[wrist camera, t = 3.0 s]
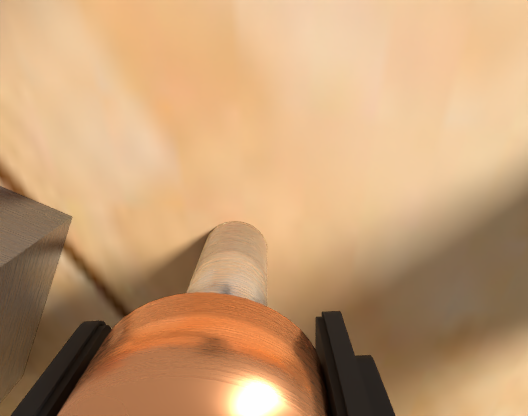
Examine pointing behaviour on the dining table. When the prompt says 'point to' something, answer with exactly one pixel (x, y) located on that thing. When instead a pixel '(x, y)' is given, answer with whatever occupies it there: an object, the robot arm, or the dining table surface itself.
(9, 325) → the hitch block
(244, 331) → the copper pin
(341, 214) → the dining table surface
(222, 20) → the dining table surface
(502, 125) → the dining table surface
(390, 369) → the dining table surface
